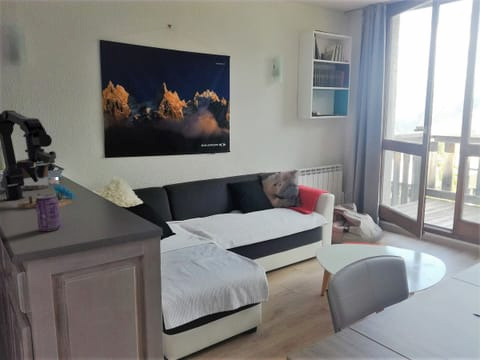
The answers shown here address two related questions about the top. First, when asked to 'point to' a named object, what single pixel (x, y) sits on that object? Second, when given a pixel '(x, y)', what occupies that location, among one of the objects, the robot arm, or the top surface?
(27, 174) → the plant pot
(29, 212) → the top surface
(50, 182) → the ball knob lever
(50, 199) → the beverage can
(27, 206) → the peg rack
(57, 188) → the gear
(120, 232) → the top surface
